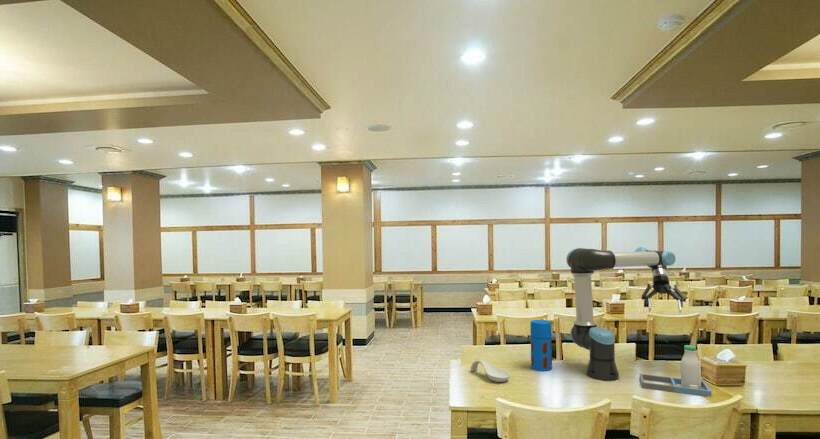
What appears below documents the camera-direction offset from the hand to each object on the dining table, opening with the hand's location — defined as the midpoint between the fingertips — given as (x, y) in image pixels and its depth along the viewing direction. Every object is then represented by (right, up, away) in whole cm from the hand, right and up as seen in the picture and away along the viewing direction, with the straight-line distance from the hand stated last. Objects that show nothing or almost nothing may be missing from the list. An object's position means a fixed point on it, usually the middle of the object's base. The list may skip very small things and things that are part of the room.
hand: (664, 310), depth 217 cm
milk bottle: (-1, -32, -22) cm, 39 cm away
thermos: (-61, -34, +10) cm, 70 cm away
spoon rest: (-92, -33, -3) cm, 98 cm away
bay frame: (-8, -32, -19) cm, 38 cm away
